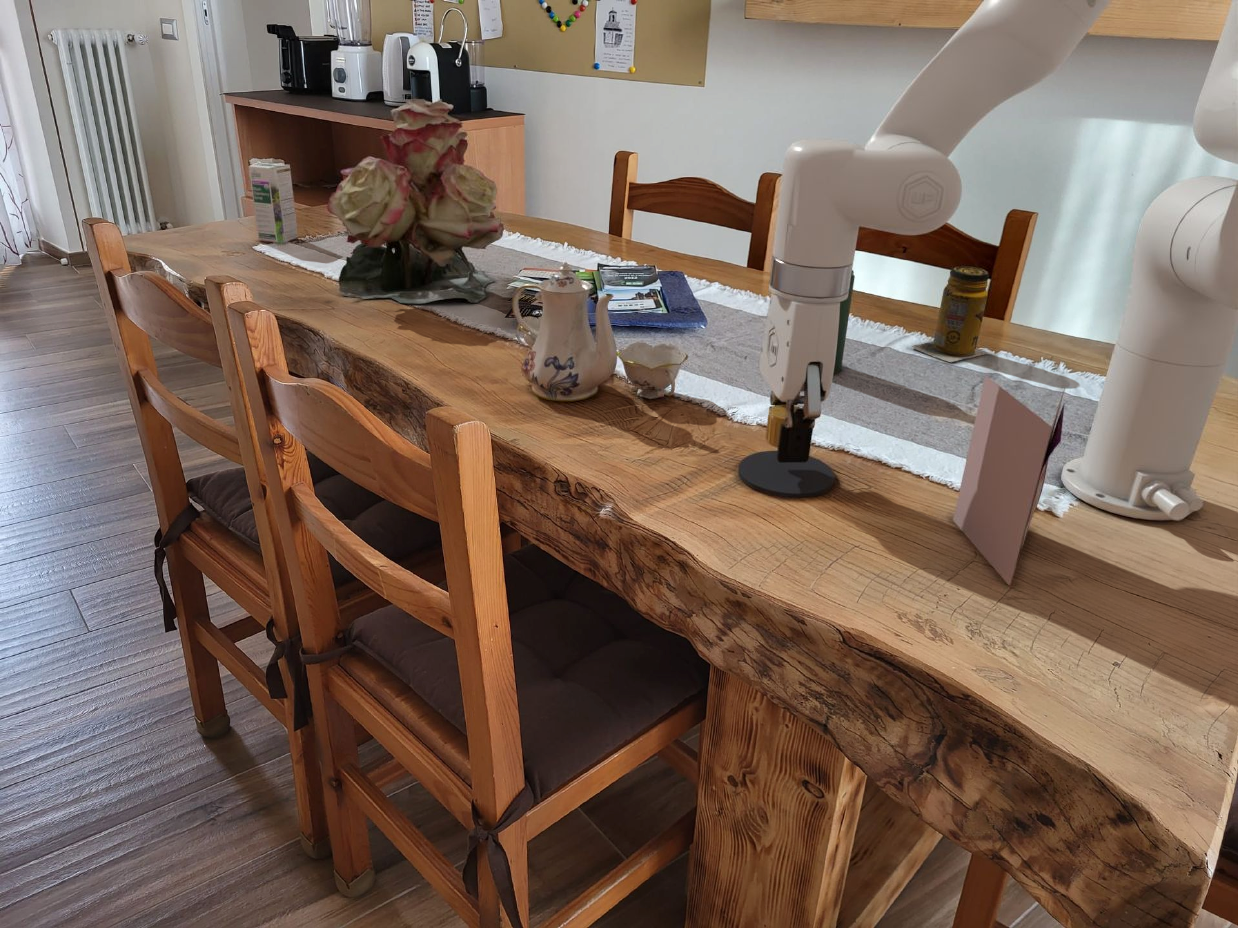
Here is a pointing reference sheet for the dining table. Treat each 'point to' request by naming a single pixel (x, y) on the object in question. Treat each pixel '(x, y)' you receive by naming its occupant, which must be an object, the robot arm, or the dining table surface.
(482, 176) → the rose bouquet
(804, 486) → the coaster
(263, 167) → the syrup box
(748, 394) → the dining table surface
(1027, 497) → the greeting card
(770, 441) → the cap
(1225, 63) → the robot arm
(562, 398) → the chinaware
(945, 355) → the condiment
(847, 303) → the bottle
